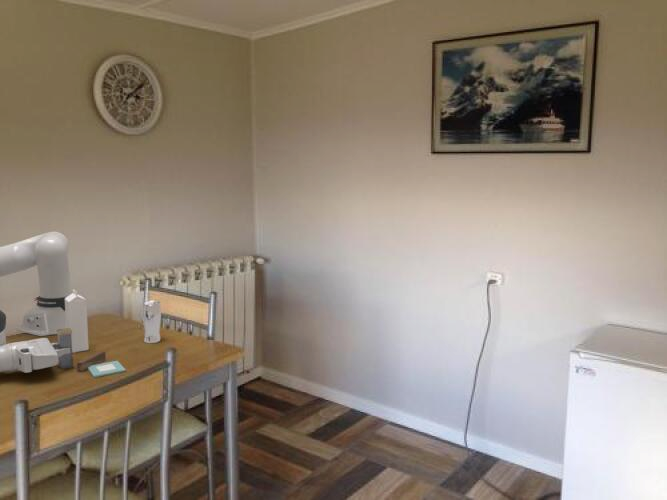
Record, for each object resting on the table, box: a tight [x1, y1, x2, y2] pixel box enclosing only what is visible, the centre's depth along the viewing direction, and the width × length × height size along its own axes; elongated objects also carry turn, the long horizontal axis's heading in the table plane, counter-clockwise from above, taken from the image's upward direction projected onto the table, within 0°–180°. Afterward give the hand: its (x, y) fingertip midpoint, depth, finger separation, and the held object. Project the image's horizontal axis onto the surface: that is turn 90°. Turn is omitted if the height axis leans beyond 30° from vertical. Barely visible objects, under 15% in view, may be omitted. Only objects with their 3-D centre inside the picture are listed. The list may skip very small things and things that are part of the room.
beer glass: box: [141, 300, 162, 344], centre depth 222 cm, size 7×7×15 cm
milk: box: [65, 288, 89, 354], centre depth 210 cm, size 6×6×22 cm
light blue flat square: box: [87, 360, 127, 378], centre depth 193 cm, size 10×10×1 cm
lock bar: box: [56, 328, 74, 370], centre depth 193 cm, size 4×4×13 cm
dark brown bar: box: [76, 350, 107, 373], centre depth 196 cm, size 2×12×3 cm, turn 165°
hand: (68, 347), depth 194 cm, fingers closed on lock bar, 4 cm apart
